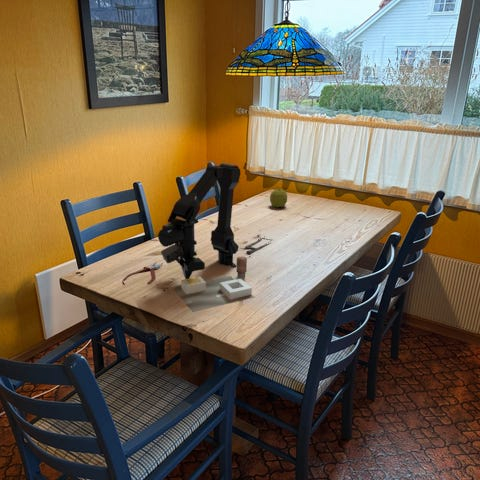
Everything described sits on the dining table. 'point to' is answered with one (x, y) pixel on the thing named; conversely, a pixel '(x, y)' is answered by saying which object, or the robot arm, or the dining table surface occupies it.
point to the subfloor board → (208, 295)
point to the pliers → (146, 269)
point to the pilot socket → (235, 288)
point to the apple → (278, 198)
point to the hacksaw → (254, 248)
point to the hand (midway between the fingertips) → (186, 279)
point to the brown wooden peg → (241, 267)
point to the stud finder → (193, 285)
